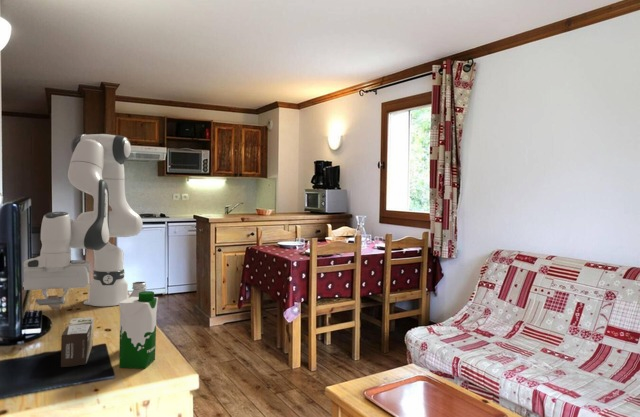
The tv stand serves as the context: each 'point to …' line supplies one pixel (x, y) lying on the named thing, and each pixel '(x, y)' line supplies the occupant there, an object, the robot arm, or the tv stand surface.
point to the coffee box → (77, 342)
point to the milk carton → (138, 331)
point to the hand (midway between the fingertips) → (55, 301)
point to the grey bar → (51, 302)
